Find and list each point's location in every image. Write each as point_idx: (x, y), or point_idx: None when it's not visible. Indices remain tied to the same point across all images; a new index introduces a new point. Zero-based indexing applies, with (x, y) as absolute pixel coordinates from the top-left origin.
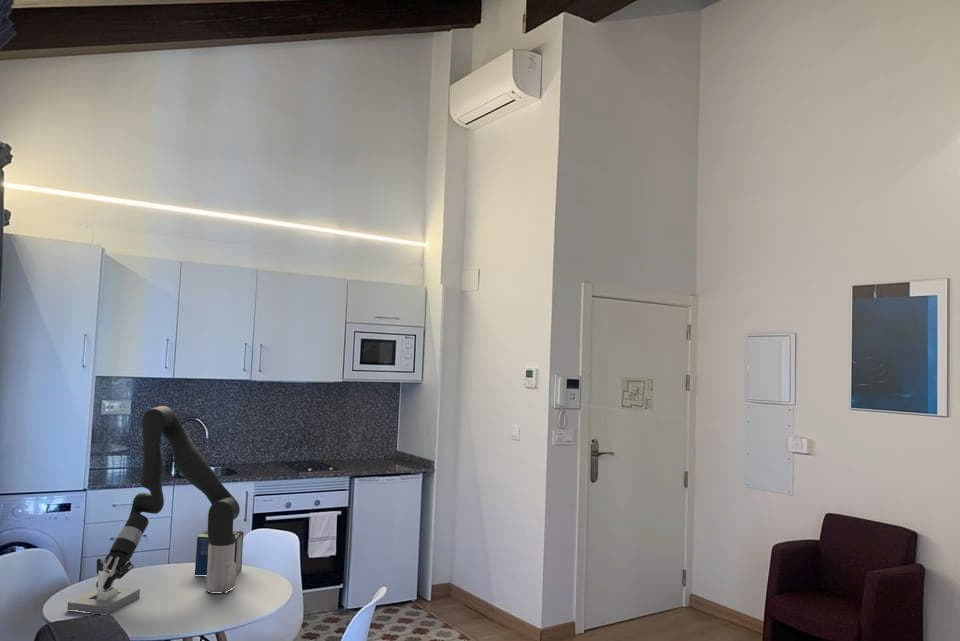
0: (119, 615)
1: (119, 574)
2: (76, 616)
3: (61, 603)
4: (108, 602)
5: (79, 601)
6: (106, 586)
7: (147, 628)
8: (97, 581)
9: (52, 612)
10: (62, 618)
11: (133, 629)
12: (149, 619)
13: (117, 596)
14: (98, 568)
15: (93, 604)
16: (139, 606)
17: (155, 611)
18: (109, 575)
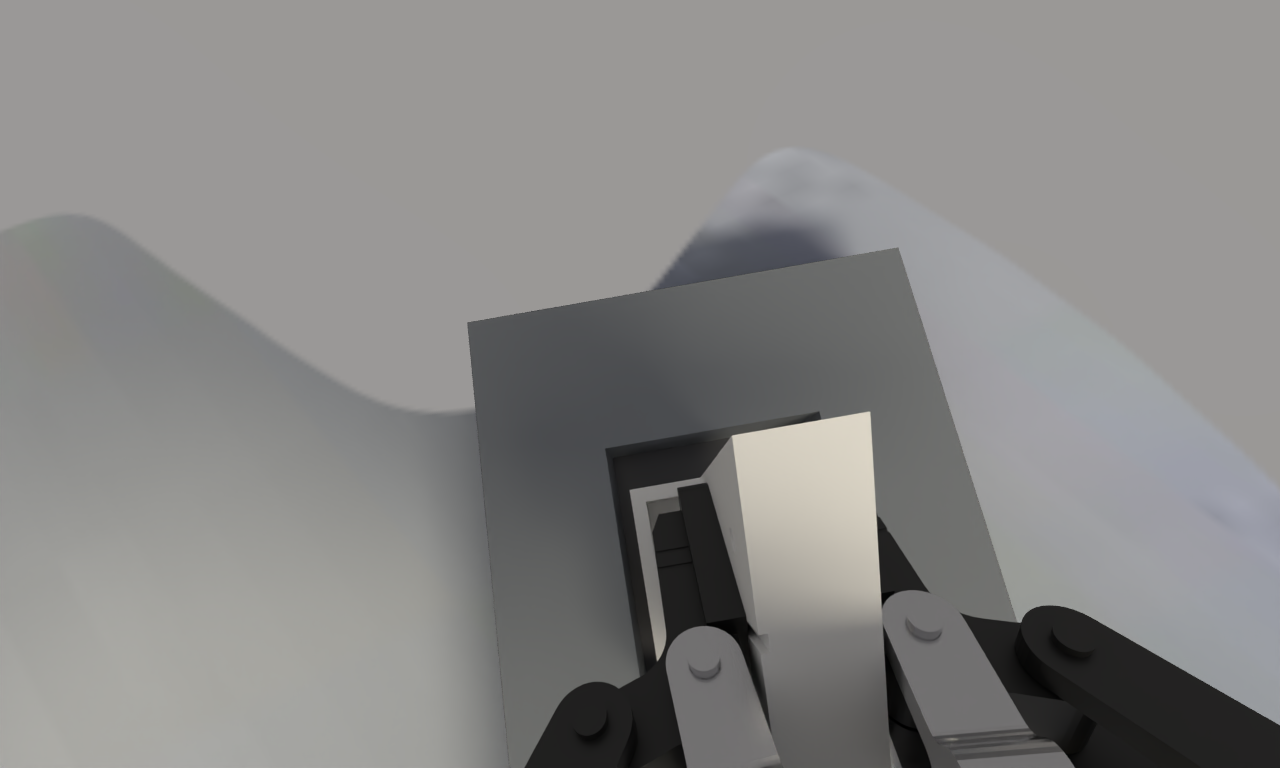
0: (397, 407)
1: (547, 749)
2: (701, 244)
3: (1106, 412)
4: (533, 416)
5: (821, 313)
6: (674, 517)
7: (24, 291)
8: (881, 522)
9: (951, 225)
10: (761, 172)
11: (115, 235)
12: (102, 443)
13: (586, 615)
14: (1198, 720)
15: (625, 309)
16: (377, 679)
17: (152, 630)
18: (755, 661)
